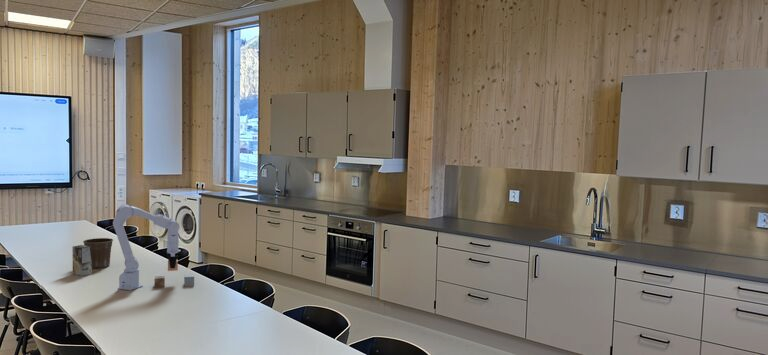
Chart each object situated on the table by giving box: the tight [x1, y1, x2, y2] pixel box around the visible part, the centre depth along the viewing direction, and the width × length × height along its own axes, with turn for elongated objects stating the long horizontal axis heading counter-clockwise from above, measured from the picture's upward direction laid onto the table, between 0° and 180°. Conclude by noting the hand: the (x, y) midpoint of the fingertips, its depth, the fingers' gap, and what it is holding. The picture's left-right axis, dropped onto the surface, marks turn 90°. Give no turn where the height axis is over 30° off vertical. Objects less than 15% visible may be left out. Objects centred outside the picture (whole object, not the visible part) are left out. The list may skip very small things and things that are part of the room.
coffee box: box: [71, 244, 93, 277], centre depth 316 cm, size 9×6×16 cm
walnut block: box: [153, 275, 166, 289], centre depth 297 cm, size 5×5×5 cm
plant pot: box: [82, 237, 114, 269], centre depth 335 cm, size 16×16×16 cm
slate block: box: [183, 274, 195, 287], centre depth 302 cm, size 5×5×5 cm
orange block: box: [167, 258, 179, 272], centre depth 302 cm, size 5×5×5 cm
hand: (172, 266), depth 302 cm, fingers closed on orange block, 5 cm apart
